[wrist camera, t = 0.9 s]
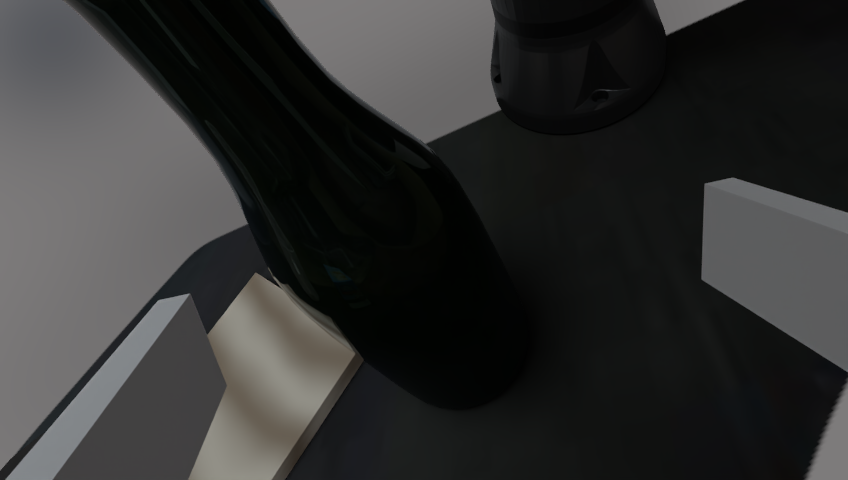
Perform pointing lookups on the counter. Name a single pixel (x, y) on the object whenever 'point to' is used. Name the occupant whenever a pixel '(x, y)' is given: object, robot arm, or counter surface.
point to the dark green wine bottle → (333, 195)
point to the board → (269, 386)
